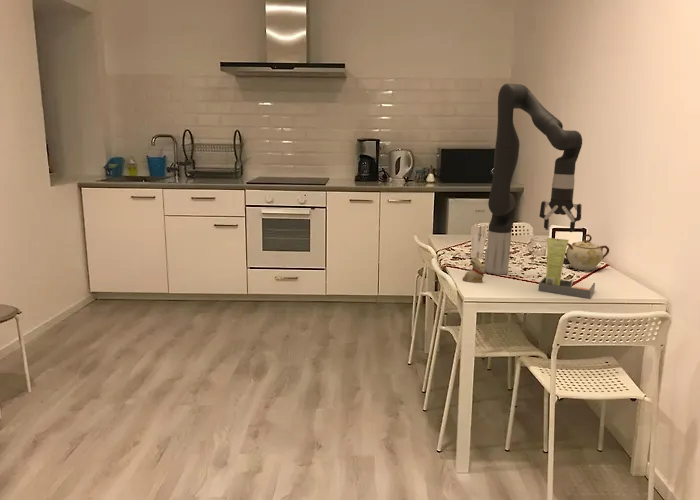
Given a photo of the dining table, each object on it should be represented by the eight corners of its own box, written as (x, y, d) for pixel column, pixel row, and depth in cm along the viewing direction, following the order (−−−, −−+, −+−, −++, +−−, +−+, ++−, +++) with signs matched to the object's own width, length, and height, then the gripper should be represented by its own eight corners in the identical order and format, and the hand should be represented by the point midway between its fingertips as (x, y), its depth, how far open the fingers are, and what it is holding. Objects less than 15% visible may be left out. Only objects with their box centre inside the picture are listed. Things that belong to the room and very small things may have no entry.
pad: (571, 290, 224) (571, 289, 224) (573, 287, 229) (573, 286, 229) (589, 293, 221) (589, 292, 221) (591, 290, 226) (591, 289, 226)
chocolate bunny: (478, 284, 230) (480, 259, 227) (461, 280, 235) (462, 255, 233) (486, 282, 234) (488, 257, 231) (468, 277, 239) (470, 253, 237)
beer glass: (469, 258, 272) (471, 226, 268) (468, 255, 278) (471, 223, 275) (484, 259, 270) (487, 227, 267) (484, 256, 277) (486, 224, 274)
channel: (538, 290, 223) (539, 282, 223) (544, 283, 234) (545, 276, 233) (589, 298, 215) (590, 290, 214) (594, 290, 225) (595, 283, 224)
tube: (553, 286, 229) (558, 236, 225) (563, 290, 224) (568, 239, 220) (542, 288, 226) (547, 237, 222) (551, 292, 222) (557, 240, 218)
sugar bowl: (601, 265, 265) (605, 232, 262) (612, 274, 251) (616, 238, 248) (555, 263, 268) (559, 230, 264) (563, 271, 253) (567, 236, 250)
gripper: (585, 187, 217) (580, 231, 220) (544, 184, 224) (541, 227, 227) (582, 189, 210) (577, 234, 214) (540, 186, 217) (536, 230, 221)
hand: (558, 230), depth 221 cm, fingers open, 8 cm apart
